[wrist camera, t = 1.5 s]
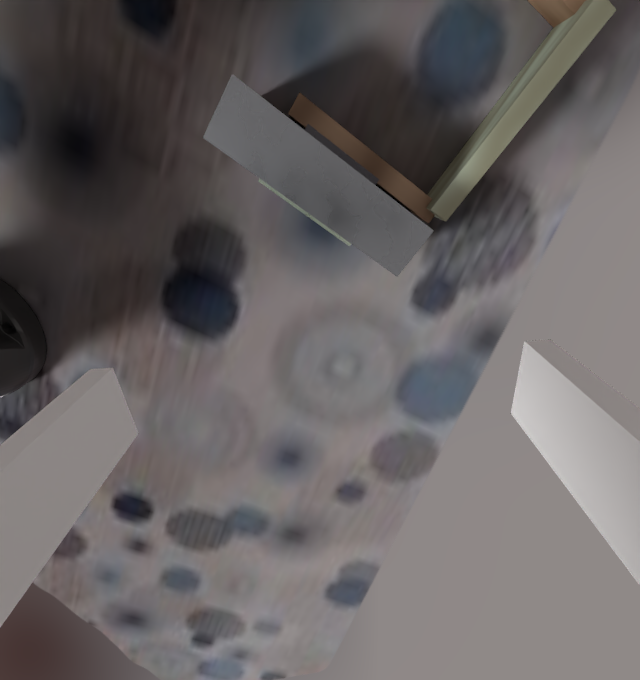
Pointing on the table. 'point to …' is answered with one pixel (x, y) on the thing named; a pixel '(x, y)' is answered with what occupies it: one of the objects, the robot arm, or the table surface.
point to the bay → (498, 126)
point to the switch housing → (314, 177)
